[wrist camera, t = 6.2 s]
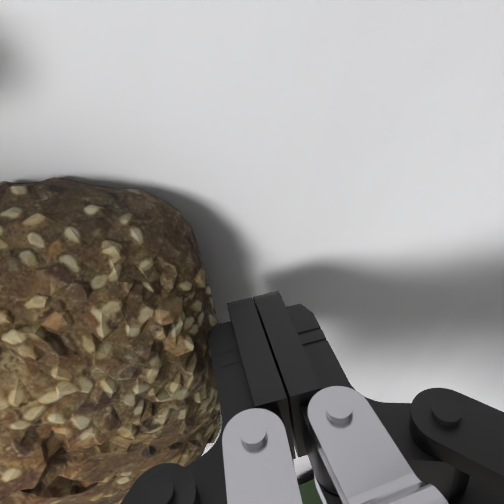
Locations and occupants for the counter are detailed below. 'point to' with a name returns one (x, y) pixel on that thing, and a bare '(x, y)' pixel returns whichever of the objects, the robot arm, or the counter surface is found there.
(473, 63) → the counter surface
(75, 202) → the bread roll
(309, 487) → the character mug
